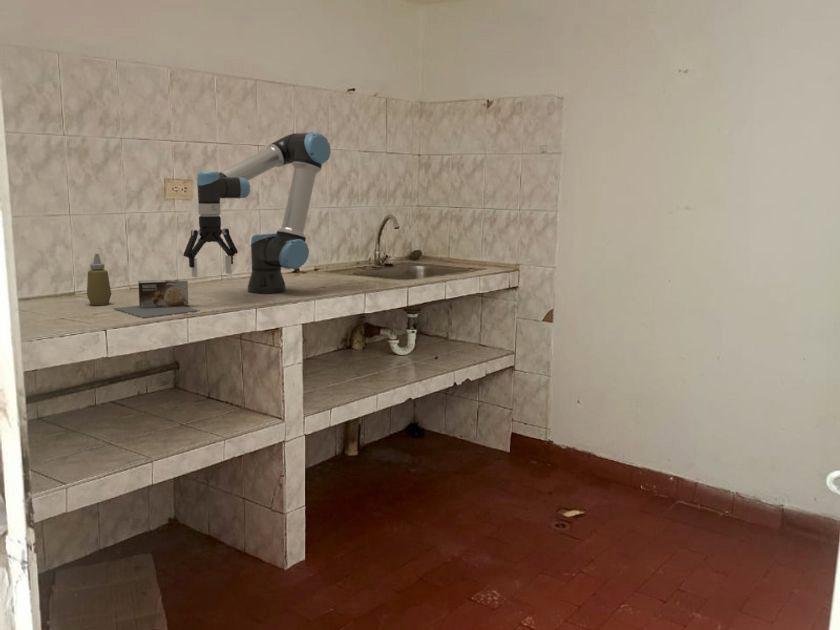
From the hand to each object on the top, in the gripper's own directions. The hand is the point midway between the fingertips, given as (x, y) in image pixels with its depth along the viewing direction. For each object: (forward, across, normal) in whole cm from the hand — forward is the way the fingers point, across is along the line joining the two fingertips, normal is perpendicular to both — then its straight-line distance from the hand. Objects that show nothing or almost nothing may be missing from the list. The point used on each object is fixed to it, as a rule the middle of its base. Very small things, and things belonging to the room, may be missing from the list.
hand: (211, 275), depth 268 cm
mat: (+10, -22, 0) cm, 24 cm away
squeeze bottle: (+10, -31, +24) cm, 41 cm away
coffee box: (+6, -9, +2) cm, 11 cm away
